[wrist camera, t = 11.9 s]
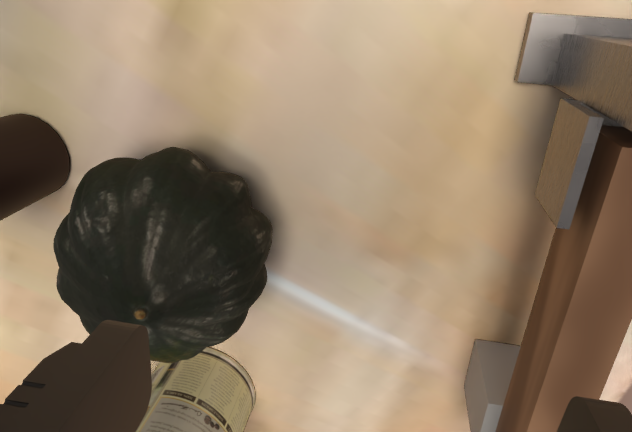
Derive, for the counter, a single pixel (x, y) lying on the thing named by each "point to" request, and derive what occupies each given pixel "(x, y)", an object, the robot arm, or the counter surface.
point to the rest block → (488, 382)
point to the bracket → (577, 96)
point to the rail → (579, 297)
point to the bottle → (29, 162)
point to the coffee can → (199, 395)
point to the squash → (163, 251)
